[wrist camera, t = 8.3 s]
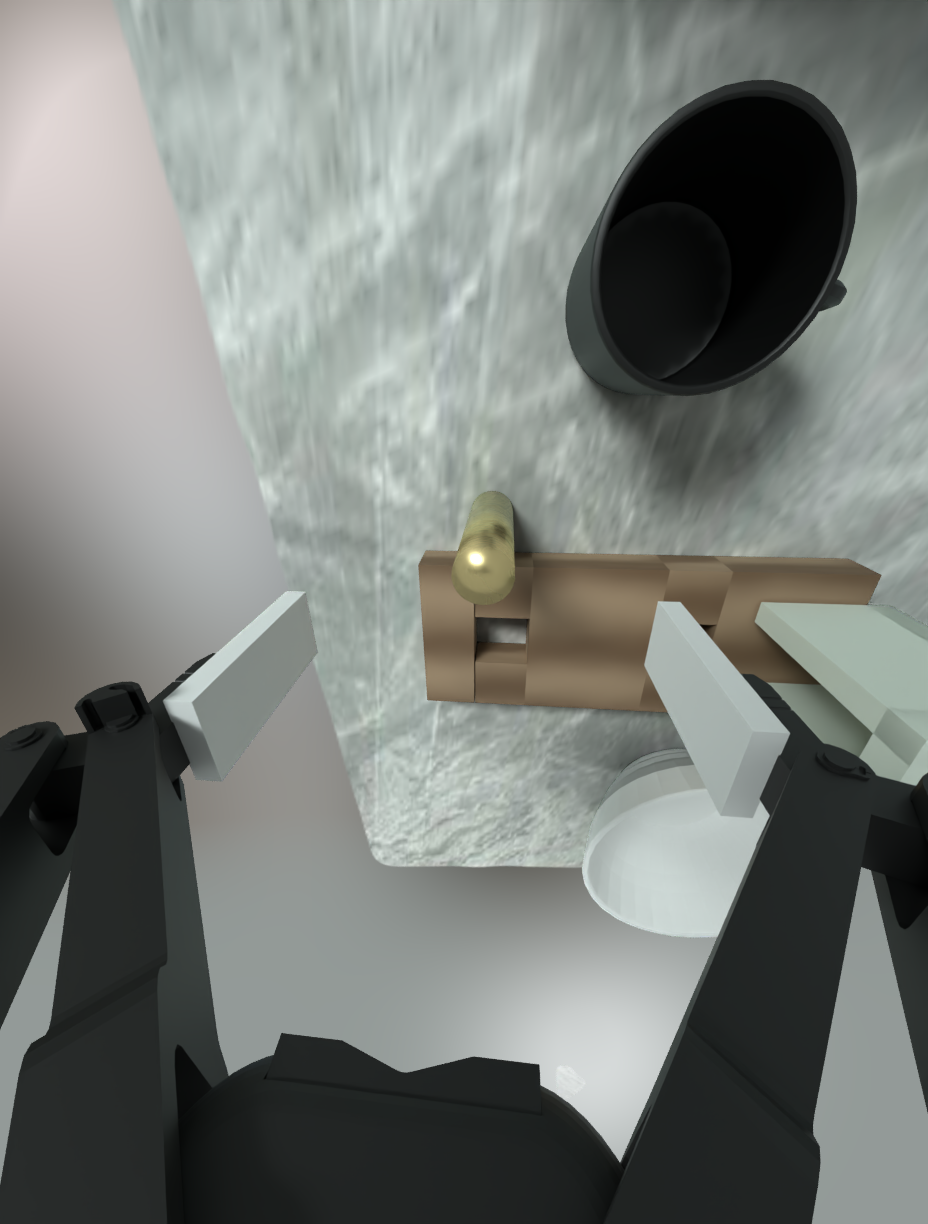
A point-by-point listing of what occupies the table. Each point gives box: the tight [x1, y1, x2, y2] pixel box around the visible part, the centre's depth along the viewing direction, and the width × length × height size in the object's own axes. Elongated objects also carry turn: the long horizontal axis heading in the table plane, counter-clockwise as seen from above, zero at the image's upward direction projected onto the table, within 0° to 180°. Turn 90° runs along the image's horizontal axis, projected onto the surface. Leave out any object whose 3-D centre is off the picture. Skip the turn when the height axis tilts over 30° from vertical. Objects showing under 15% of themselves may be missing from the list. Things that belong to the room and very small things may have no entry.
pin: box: [451, 491, 515, 605], centre depth 25 cm, size 3×3×12 cm
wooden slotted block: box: [419, 551, 881, 712], centre depth 29 cm, size 12×30×12 cm, turn 91°
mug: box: [566, 80, 857, 396], centre depth 20 cm, size 9×12×9 cm
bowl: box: [582, 749, 770, 938], centre depth 38 cm, size 20×20×8 cm
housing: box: [755, 602, 928, 786], centre depth 24 cm, size 8×8×13 cm
